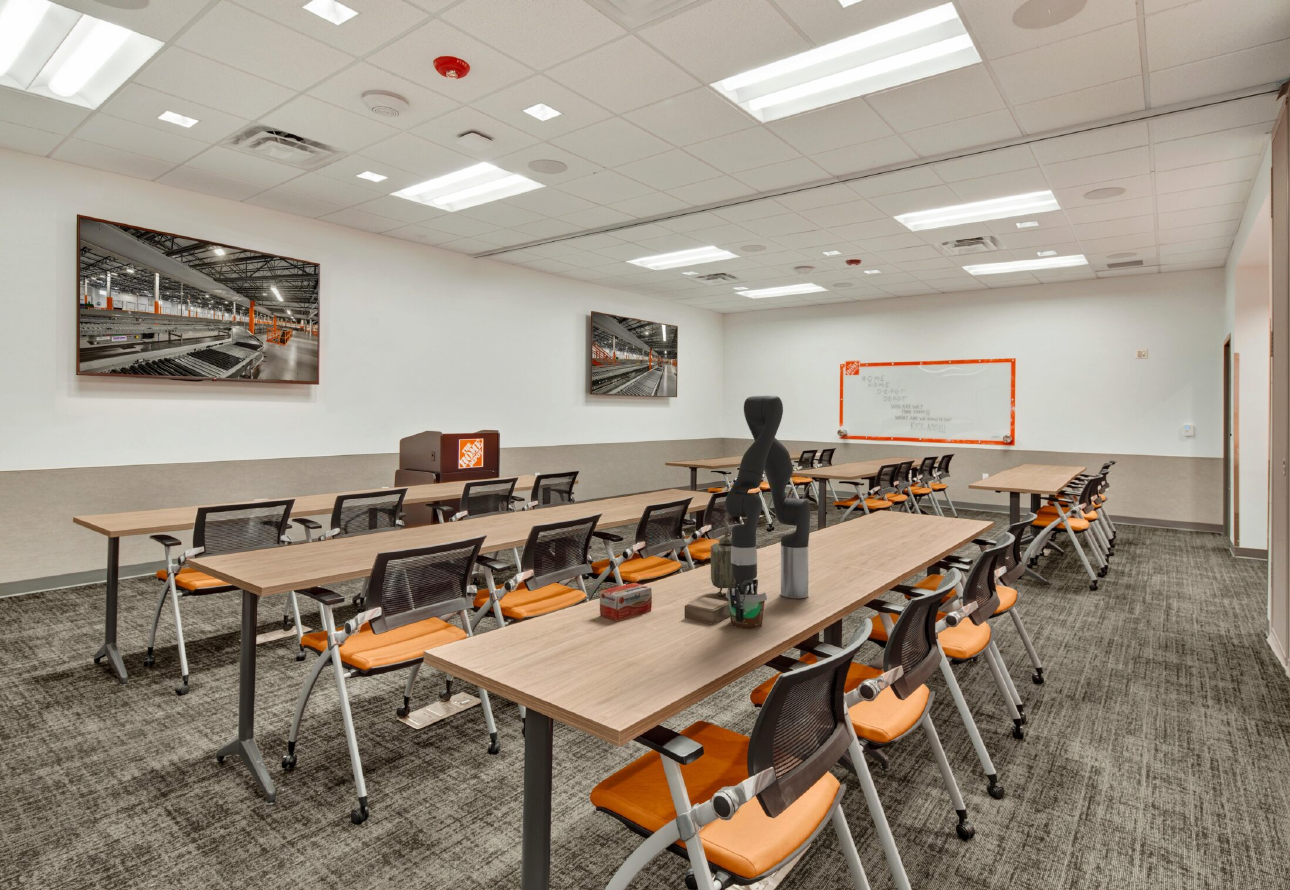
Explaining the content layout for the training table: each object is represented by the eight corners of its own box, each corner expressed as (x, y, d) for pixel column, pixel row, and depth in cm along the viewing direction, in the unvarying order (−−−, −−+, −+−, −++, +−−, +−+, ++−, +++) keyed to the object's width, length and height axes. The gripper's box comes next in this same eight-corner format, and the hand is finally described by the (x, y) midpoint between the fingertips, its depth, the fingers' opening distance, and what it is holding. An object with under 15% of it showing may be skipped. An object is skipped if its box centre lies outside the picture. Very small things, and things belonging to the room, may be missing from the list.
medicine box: (617, 622, 195) (616, 595, 194) (599, 616, 200) (599, 591, 200) (652, 611, 205) (652, 586, 205) (634, 606, 211) (634, 582, 211)
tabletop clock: (741, 601, 215) (741, 526, 214) (714, 601, 215) (714, 526, 214) (736, 590, 230) (736, 520, 229) (710, 590, 230) (710, 520, 229)
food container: (719, 626, 190) (719, 592, 189) (727, 620, 195) (727, 587, 195) (760, 632, 184) (760, 597, 184) (767, 626, 189) (767, 592, 189)
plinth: (703, 609, 206) (703, 596, 206) (731, 615, 200) (731, 601, 200) (684, 618, 197) (684, 604, 197) (713, 624, 191) (713, 610, 191)
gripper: (743, 554, 197) (743, 610, 198) (720, 564, 186) (720, 622, 186) (766, 557, 193) (766, 614, 194) (744, 567, 181) (744, 627, 182)
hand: (744, 618), depth 190 cm, fingers closed on food container, 5 cm apart
